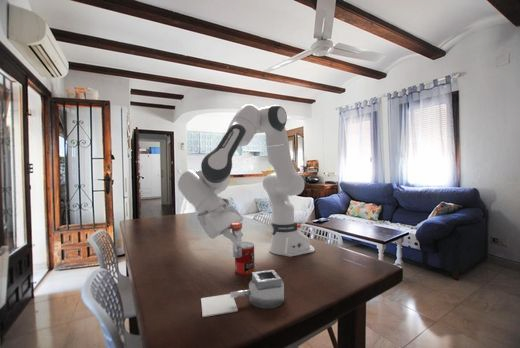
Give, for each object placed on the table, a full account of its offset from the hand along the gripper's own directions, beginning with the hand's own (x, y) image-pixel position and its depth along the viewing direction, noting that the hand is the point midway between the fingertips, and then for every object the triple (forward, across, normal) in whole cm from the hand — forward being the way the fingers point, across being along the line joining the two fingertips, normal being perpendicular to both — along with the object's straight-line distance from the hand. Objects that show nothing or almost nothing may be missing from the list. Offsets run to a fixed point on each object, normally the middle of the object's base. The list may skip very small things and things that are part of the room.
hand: (238, 238), depth 84 cm
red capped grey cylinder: (+4, 0, +5) cm, 6 cm away
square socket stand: (+18, -4, +7) cm, 20 cm away
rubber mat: (+11, -10, +14) cm, 21 cm away
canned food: (+10, +15, +16) cm, 24 cm away
